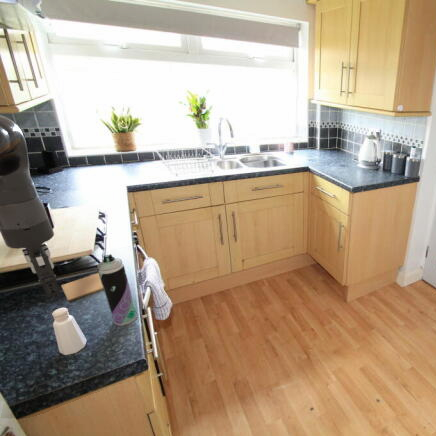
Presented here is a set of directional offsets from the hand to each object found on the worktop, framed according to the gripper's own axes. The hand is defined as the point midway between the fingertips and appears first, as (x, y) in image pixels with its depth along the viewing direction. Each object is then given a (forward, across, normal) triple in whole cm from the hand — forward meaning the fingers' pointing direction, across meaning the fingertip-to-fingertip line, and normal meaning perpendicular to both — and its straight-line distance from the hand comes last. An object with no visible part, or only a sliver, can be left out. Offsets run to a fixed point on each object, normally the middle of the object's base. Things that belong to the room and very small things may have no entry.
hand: (50, 286), depth 70 cm
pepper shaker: (+18, 0, 0) cm, 18 cm away
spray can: (+18, -2, +12) cm, 22 cm away
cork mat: (+18, -26, +7) cm, 32 cm away
